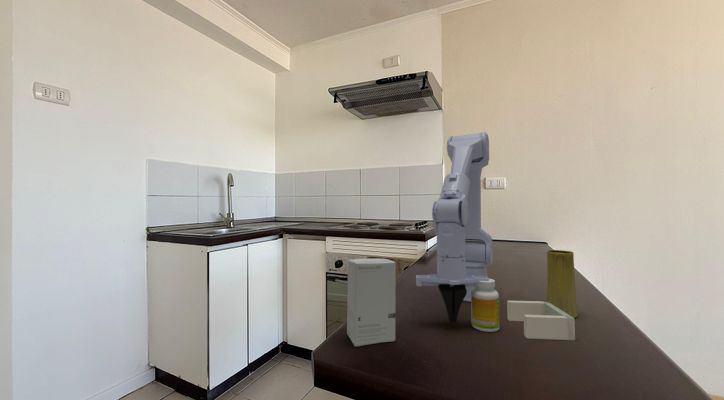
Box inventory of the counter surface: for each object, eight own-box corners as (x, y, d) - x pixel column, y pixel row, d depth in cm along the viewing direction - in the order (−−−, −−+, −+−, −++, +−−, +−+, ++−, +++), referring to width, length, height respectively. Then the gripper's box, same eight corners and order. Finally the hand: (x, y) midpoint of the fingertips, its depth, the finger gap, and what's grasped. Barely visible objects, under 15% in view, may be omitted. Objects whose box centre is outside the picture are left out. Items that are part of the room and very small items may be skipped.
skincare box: (354, 348, 53) (353, 263, 53) (346, 334, 59) (345, 258, 59) (397, 341, 55) (396, 260, 56) (385, 328, 61) (385, 255, 62)
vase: (567, 309, 71) (566, 249, 72) (584, 319, 65) (582, 253, 66) (540, 309, 72) (539, 249, 72) (554, 318, 66) (552, 253, 66)
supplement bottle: (502, 333, 58) (501, 283, 59) (473, 331, 59) (472, 282, 60) (496, 322, 64) (495, 277, 64) (469, 321, 65) (468, 276, 65)
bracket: (526, 338, 56) (526, 316, 56) (507, 318, 66) (507, 300, 66) (575, 340, 55) (574, 318, 55) (548, 320, 65) (547, 301, 65)
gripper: (417, 258, 60) (418, 327, 59) (493, 259, 58) (494, 330, 57) (415, 253, 67) (416, 314, 66) (482, 253, 65) (484, 316, 64)
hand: (452, 321), depth 62 cm, fingers closed
